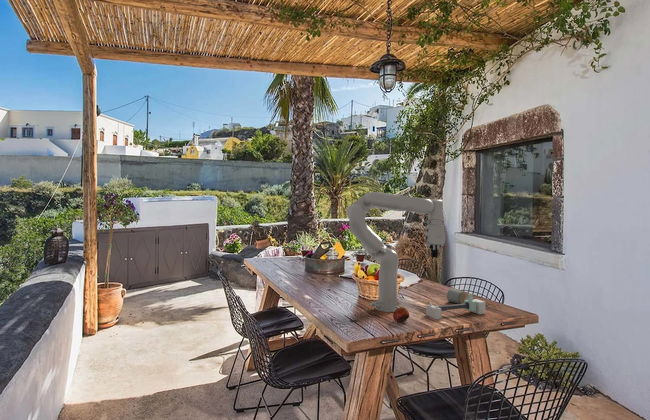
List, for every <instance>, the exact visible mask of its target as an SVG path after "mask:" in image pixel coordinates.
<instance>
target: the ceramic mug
mask: <svg viewBox="0 0 650 420" xmlns="http://www.w3.org/2000/svg"><path fill="white" fill-rule="evenodd" d="M466 296H467V295H466V293H465V292H464V291H462V290H458V289H457V288H456V289H455V288H453V287H452V288H451V287H450V288H449V289H448V291H447V293H446V300H447V301H448V302H450V303H453V304H454V303H455V304H464V300H467V297H466Z"/></svg>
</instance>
